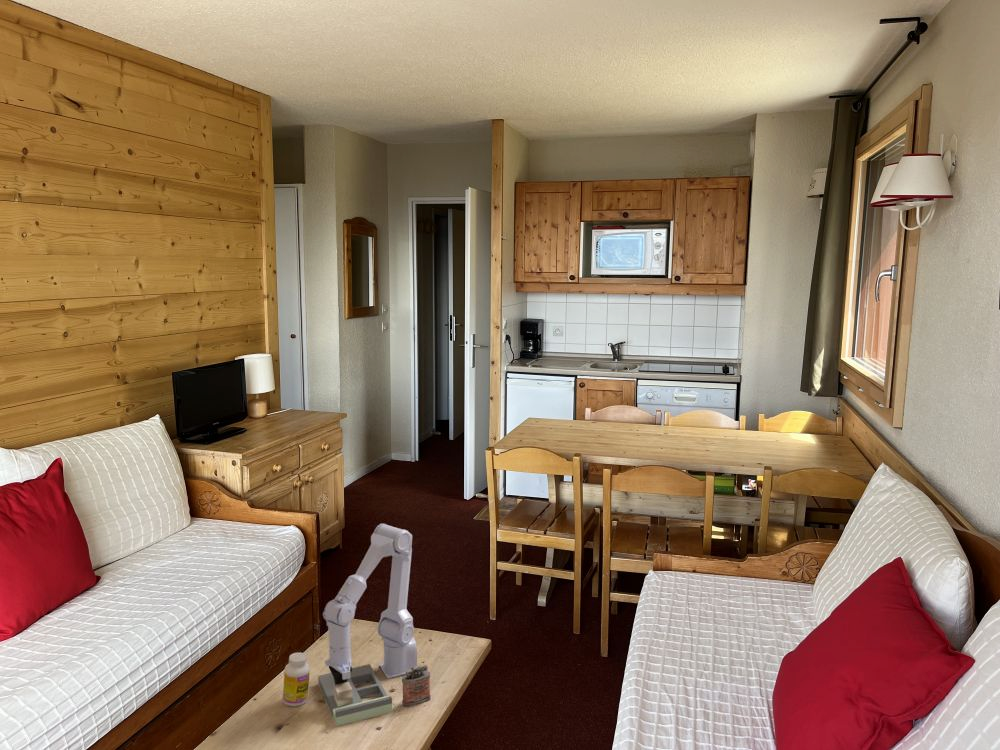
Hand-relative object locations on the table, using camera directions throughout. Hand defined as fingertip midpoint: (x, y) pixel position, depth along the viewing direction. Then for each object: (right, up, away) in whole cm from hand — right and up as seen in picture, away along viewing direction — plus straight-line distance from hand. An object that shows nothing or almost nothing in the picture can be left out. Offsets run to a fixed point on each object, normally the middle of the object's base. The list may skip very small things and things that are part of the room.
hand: (341, 690), depth 206 cm
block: (+1, -2, -3) cm, 4 cm away
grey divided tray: (+3, -3, +3) cm, 5 cm away
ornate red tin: (+20, -4, +1) cm, 21 cm away
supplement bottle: (-13, -3, +1) cm, 13 cm away
